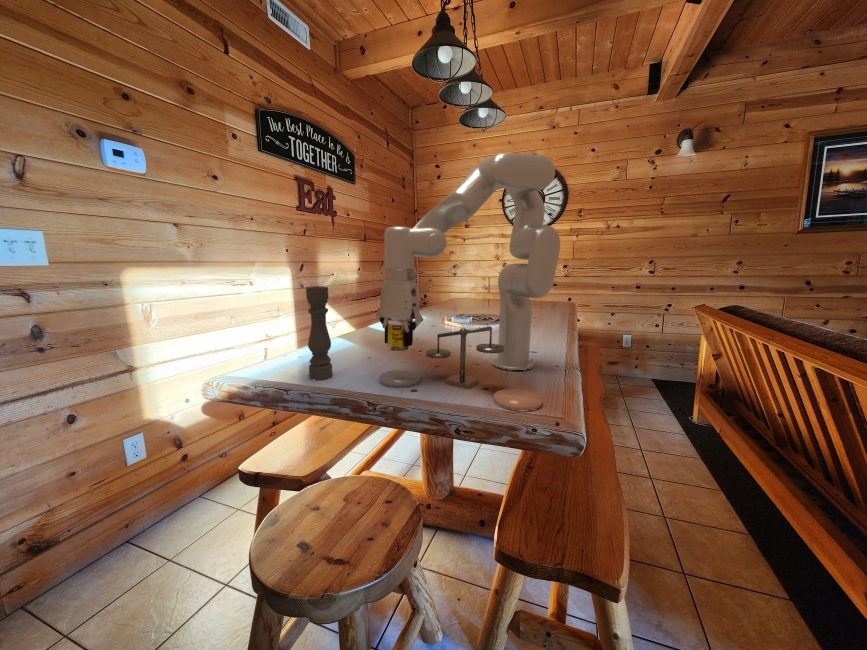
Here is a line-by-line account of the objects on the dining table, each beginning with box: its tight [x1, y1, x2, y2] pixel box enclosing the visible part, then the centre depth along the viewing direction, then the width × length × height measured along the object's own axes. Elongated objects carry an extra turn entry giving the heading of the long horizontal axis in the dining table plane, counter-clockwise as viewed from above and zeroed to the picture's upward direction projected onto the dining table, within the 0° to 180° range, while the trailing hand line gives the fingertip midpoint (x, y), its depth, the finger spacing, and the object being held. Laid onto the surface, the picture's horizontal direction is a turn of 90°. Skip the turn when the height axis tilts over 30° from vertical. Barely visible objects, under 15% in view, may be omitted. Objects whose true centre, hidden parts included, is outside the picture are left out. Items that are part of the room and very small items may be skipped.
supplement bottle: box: [387, 317, 409, 354], centre depth 98 cm, size 6×6×10 cm
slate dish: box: [378, 370, 421, 389], centre depth 100 cm, size 11×11×1 cm
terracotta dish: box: [493, 388, 543, 410], centre depth 86 cm, size 11×11×1 cm
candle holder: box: [305, 285, 333, 381], centre depth 100 cm, size 6×6×25 cm
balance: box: [425, 325, 504, 390], centre depth 97 cm, size 7×22×16 cm, turn 57°
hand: (398, 343), depth 98 cm, fingers closed on supplement bottle, 5 cm apart
